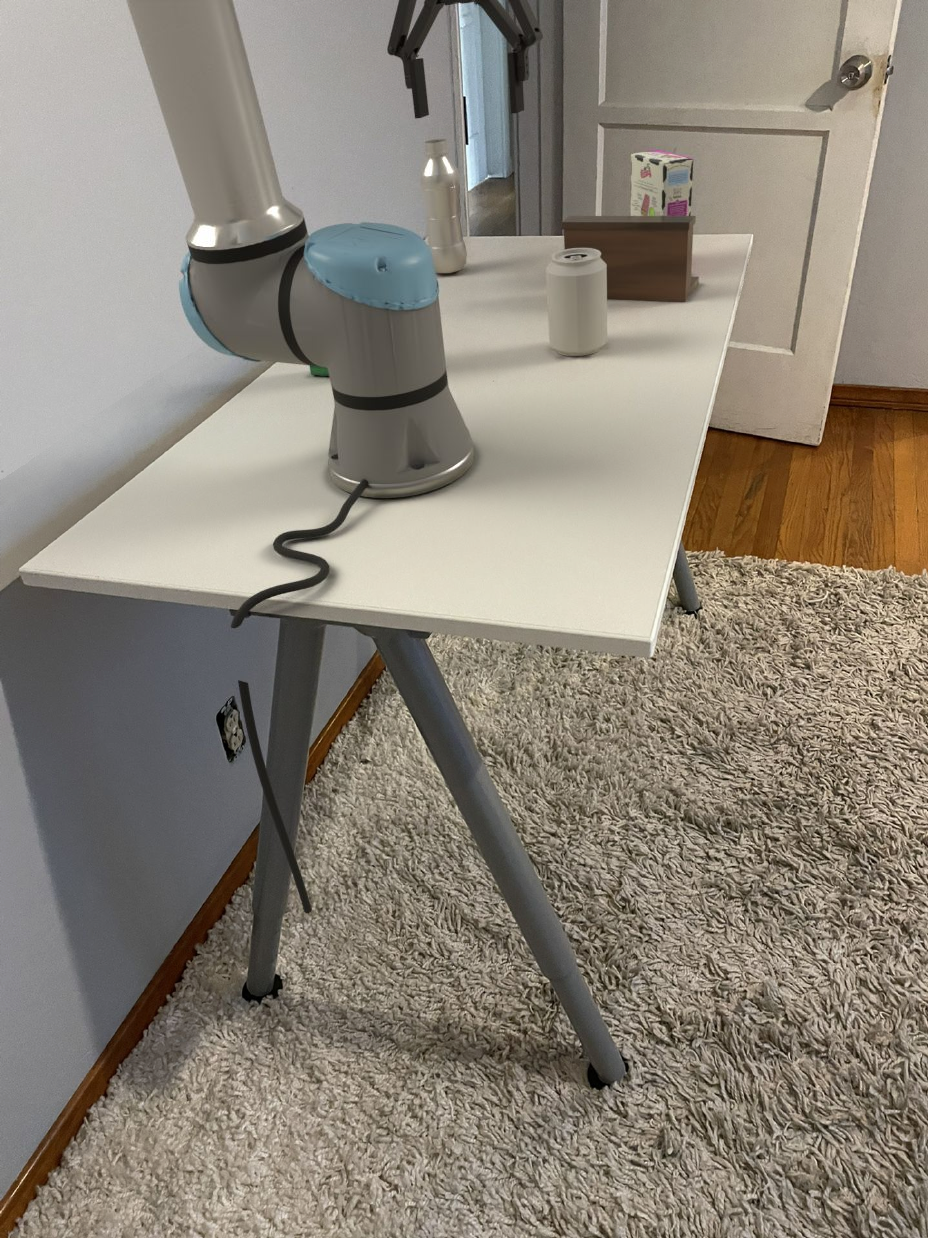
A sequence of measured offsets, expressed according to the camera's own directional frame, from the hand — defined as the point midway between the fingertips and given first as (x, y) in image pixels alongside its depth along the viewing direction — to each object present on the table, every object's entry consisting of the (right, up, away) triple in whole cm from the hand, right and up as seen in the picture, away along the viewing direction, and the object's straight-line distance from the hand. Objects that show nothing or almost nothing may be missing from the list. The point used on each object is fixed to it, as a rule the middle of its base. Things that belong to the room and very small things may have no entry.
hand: (468, 114), depth 118 cm
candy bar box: (+30, -10, +26) cm, 41 cm away
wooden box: (+24, -16, +18) cm, 35 cm away
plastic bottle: (-3, -7, +37) cm, 38 cm away
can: (+14, -30, +1) cm, 33 cm away
